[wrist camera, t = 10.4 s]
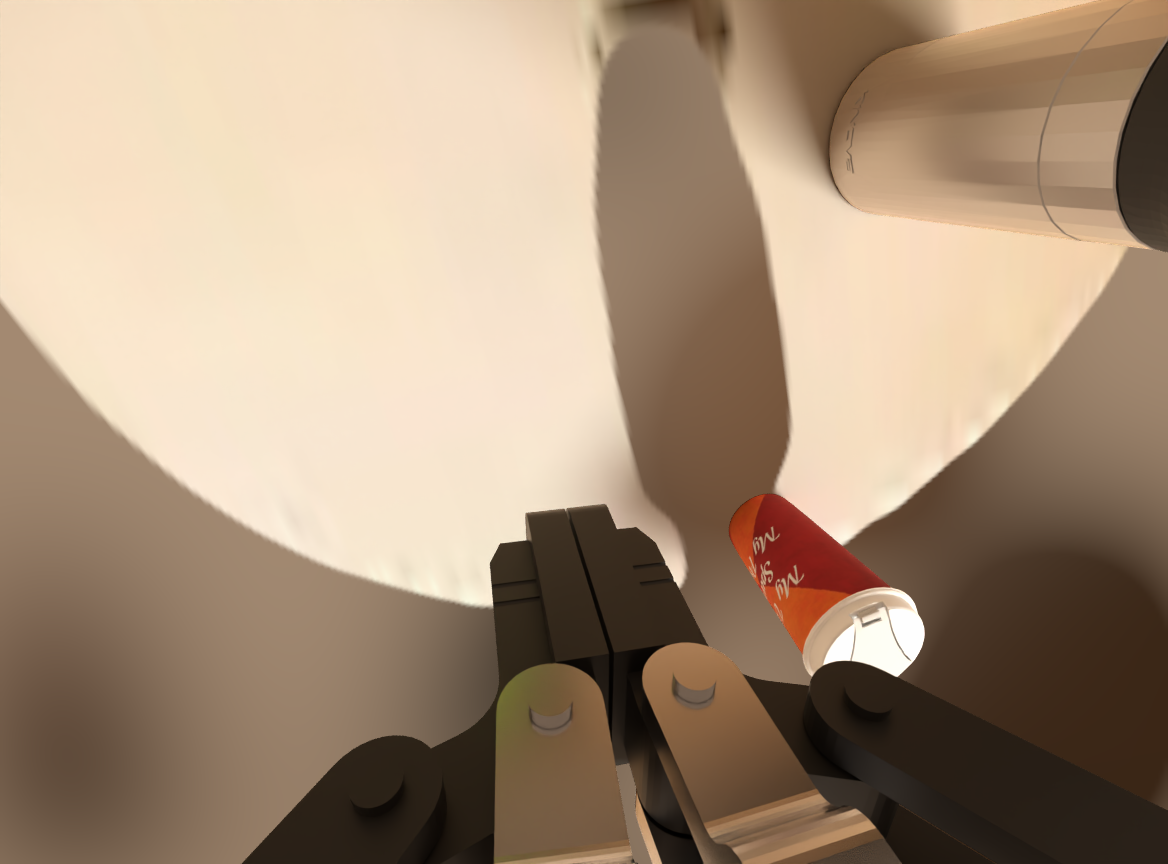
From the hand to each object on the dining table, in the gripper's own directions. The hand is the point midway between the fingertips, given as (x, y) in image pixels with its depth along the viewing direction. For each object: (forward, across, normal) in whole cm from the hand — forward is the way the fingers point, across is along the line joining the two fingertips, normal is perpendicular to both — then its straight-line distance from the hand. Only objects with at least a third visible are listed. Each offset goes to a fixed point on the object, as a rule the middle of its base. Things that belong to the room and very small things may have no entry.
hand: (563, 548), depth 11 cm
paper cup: (+27, -20, +20) cm, 39 cm away
